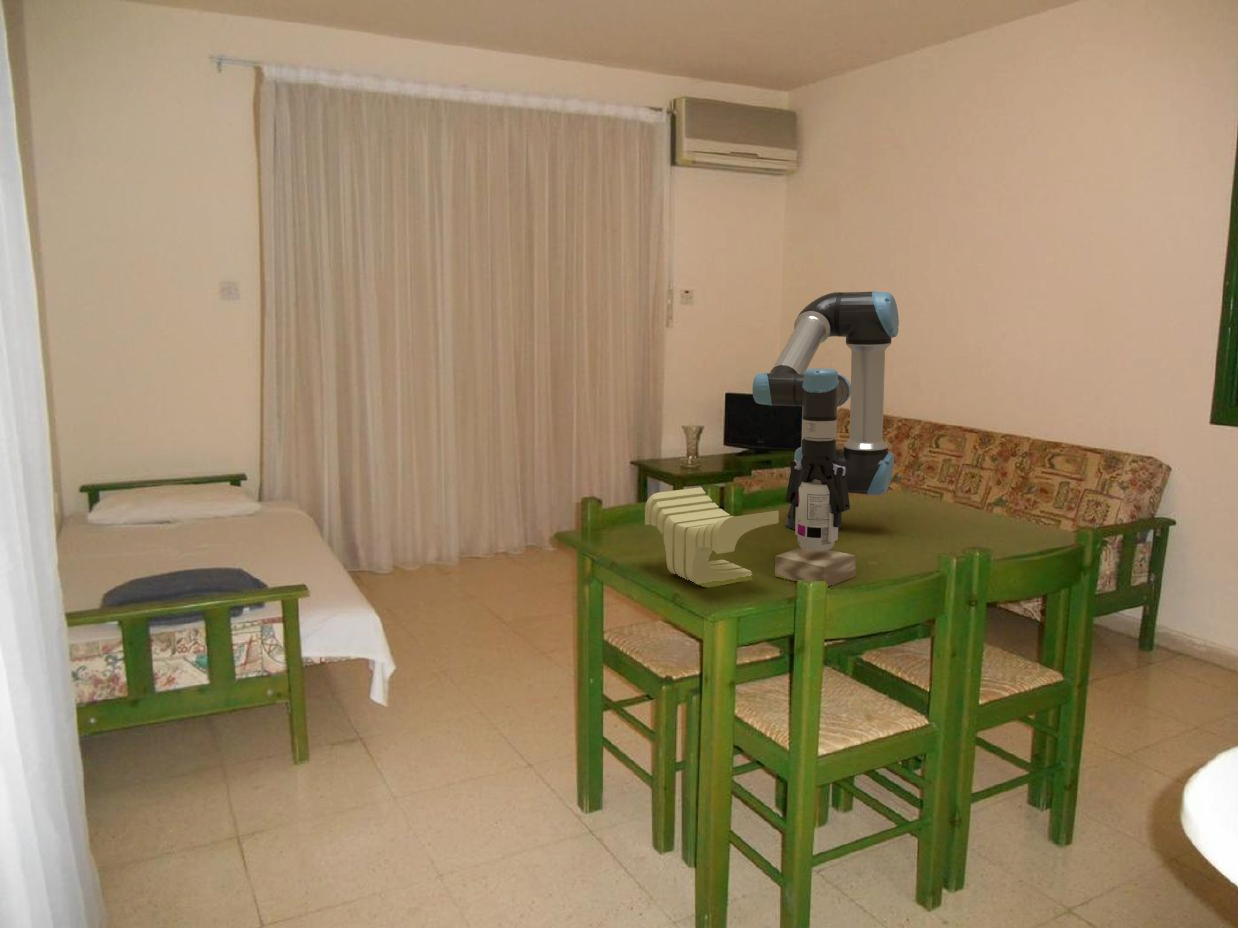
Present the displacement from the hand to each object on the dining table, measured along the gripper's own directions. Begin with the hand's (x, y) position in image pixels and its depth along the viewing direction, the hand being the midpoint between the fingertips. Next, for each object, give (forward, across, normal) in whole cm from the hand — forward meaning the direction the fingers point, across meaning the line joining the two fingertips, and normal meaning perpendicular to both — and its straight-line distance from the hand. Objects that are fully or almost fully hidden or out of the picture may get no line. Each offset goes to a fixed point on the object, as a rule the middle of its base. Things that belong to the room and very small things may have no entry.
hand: (816, 537), depth 209 cm
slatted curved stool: (+10, -17, -17) cm, 26 cm away
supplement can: (+2, 0, 0) cm, 2 cm away
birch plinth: (+9, 0, 0) cm, 9 cm away
